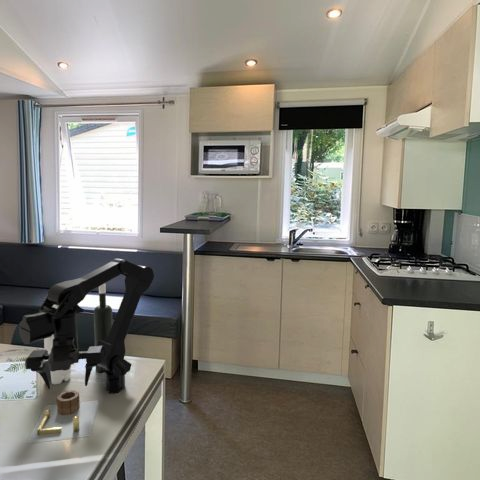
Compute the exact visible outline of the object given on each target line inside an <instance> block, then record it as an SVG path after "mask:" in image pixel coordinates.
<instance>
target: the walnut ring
mask: <svg viewBox="0 0 480 480" xmlns="http://www.w3.org/2000/svg"><path fill="white" fill-rule="evenodd" d="M56 405H57V411H58V413H59V414H61V415H70V414H73V413H75V412H76V411H78V410H79V407H80V392H79V391H77V390H75V389H74V390H66V391H63V392H61V393H59V394H58V395H57V397H56Z"/></svg>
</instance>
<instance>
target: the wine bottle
mask: <svg viewBox="0 0 480 480" xmlns="http://www.w3.org/2000/svg"><path fill="white" fill-rule="evenodd" d="M106 283H107V282H106ZM106 283H104V284H103V285H101V286H99V287H98V297H99V300H98V301H99V305H97V306H96V307H94V309H93V329H94V332H93V333H94V346H97V344H98V341H99V340H101V341H104V340H105V339H106V338H107V337H108V335H109V333H110V330H111V328H112V325H113V323H114V321H113V308H112V307H111V306H110V305H108V304H107V299H106V298H107V297H106V293H107V292H106V291H107V288H106V286H107V285H106ZM95 372H96V373H98V374H105V370H103V369H100V367H99V366H98V365H97V366H95Z"/></svg>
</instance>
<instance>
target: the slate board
mask: <svg viewBox="0 0 480 480" xmlns="http://www.w3.org/2000/svg"><path fill="white" fill-rule="evenodd" d="M99 404H100V400H92V401H91V400H90V401H82V402H80V407H79V410H78V411H76V412H75V413H73V414H70V415H61V414H59V413H58V411H57V404H49V405H46V406H45V407H44V409H43V410H42V413H41V414H40V416H39V418H38V420H37V422H36V424H35V426H34V428H33V430H31V433H30V436H29V437H28V439H27V441H26V442H25V444H26V445H28V444H29V445H30V444H35V443H36V444H37V443H46V442H53V441H56V442H57V441H62V440H70V439H72V440H73V439H81V438H89V437H90V436H91V431H92V428H93V425H94V421H95V418H96V415H97V411H98V407H99ZM47 409H50V418H49V419H48V420H47V422H46V424H45V426H44V428H43V429H46V428H56V427H61V430H62V432H61V433H56V434H47V435H38V436H37V430H38V428H39V426H40V425H41V423H42V421H43V419H44V417H45V410H47ZM74 416H79V431H78V432H73V417H74Z"/></svg>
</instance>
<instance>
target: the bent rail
mask: <svg viewBox="0 0 480 480" xmlns="http://www.w3.org/2000/svg"><path fill="white" fill-rule="evenodd" d="M49 418H50V409H47V410H45V417H44V419H43V421H42V423H41V425H40V426H39V428H38V430H37V436H38V435H47V434H56V433H61V432H62V430H61V427H56V428H46V429H43V428H44V426H45V424H46V422H47V420H48V419H49Z"/></svg>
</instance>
